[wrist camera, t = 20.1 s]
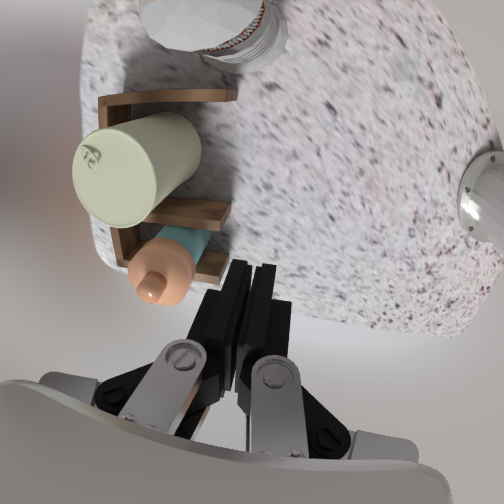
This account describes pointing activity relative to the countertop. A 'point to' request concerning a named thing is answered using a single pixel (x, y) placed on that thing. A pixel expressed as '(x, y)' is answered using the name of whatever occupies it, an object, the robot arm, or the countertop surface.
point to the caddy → (170, 208)
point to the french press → (219, 30)
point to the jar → (188, 238)
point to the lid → (162, 271)
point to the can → (134, 166)
